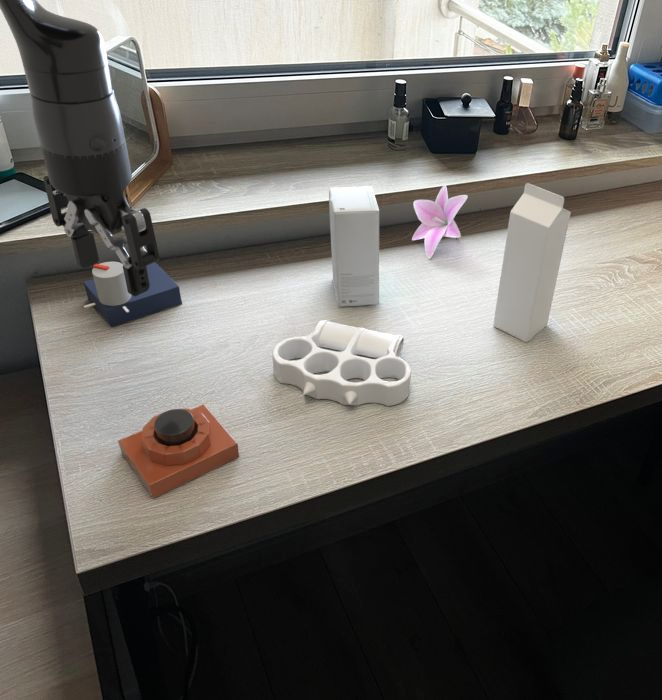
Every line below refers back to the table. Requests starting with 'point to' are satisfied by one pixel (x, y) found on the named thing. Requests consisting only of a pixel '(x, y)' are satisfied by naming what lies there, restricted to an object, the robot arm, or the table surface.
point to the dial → (110, 283)
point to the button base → (178, 453)
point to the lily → (437, 219)
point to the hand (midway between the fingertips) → (113, 278)
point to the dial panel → (138, 299)
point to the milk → (531, 262)
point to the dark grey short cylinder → (175, 427)
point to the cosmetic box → (354, 245)
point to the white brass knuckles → (344, 365)
